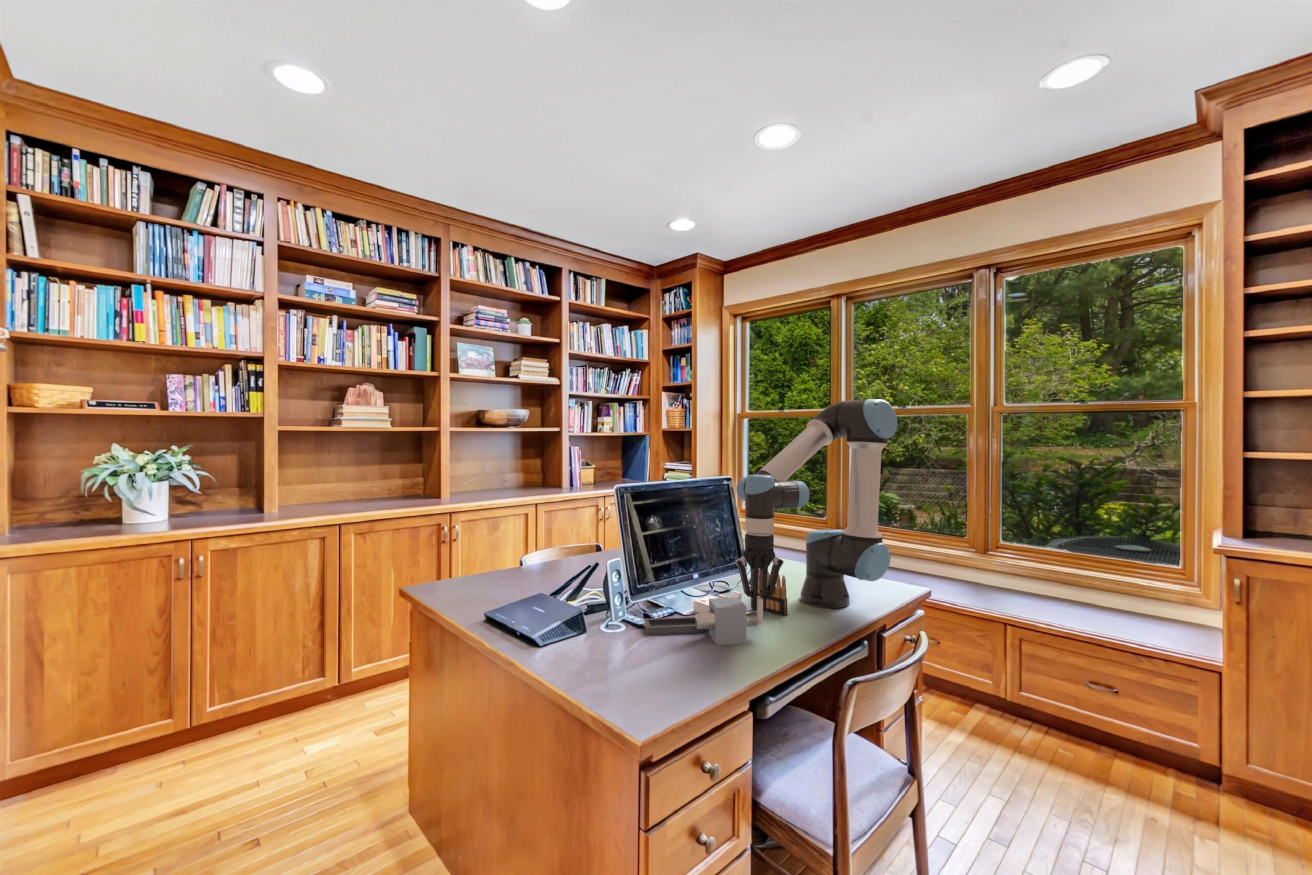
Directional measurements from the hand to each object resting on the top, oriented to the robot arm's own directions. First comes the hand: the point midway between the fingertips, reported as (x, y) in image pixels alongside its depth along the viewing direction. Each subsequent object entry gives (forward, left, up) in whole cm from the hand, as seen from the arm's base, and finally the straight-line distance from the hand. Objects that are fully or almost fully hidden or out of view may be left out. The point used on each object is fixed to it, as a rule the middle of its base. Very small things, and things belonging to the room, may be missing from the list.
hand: (758, 622), depth 146 cm
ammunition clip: (-11, -20, -4) cm, 23 cm away
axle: (+9, 0, +1) cm, 9 cm away
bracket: (+6, -20, -5) cm, 21 cm away
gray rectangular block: (+8, 0, -4) cm, 9 cm away
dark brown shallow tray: (+18, -9, -4) cm, 21 cm away
